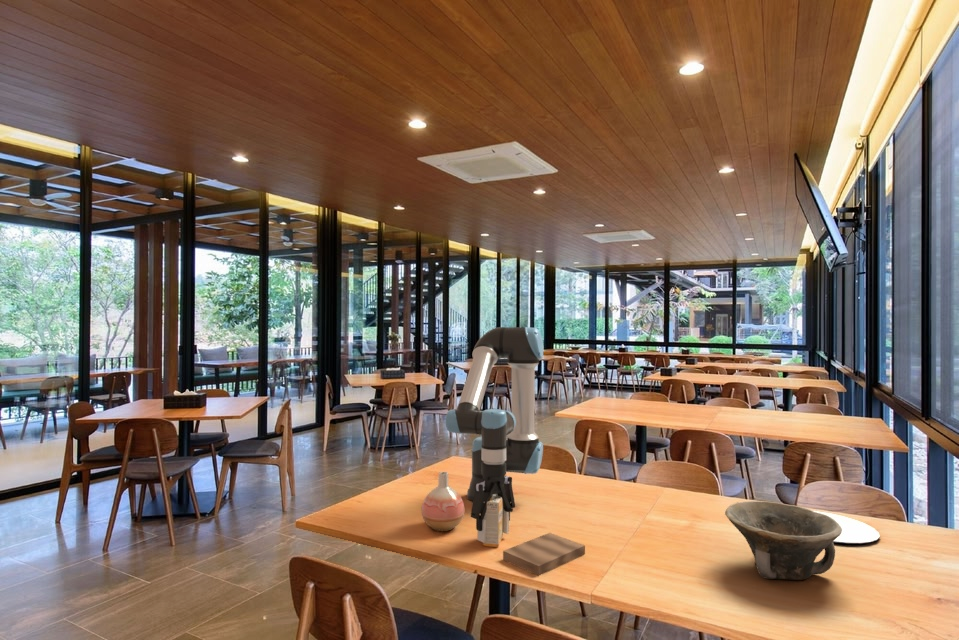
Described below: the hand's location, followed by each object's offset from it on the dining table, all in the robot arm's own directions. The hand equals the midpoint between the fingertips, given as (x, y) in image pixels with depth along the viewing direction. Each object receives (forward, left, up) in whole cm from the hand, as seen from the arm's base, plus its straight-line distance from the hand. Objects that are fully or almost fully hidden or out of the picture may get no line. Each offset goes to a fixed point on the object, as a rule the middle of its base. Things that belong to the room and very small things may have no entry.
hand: (493, 536), depth 163 cm
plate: (-87, +64, -2) cm, 108 cm away
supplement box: (0, 0, -2) cm, 2 cm away
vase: (+4, -19, -2) cm, 19 cm away
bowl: (-42, +66, -2) cm, 78 cm away
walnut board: (-3, +17, -1) cm, 18 cm away
